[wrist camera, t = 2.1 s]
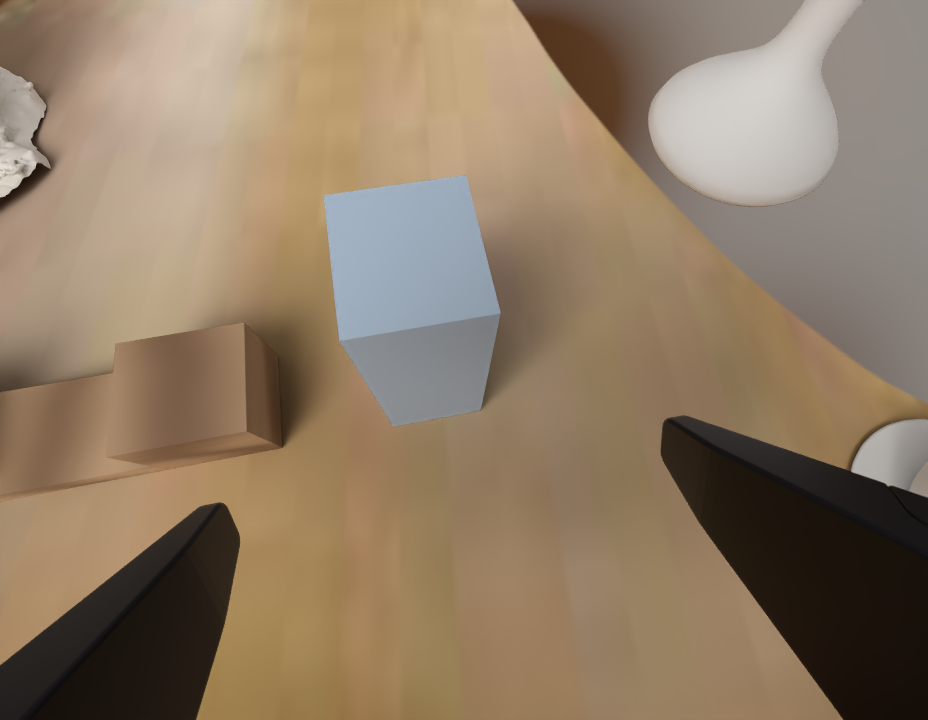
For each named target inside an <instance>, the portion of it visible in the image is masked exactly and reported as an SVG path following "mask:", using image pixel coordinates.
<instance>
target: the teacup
mask: <svg viewBox="0 0 928 720" xmlns="http://www.w3.org/2000/svg"><path fill="white" fill-rule="evenodd" d="M851 472H854V473H857V474H860V475H863V476H866V477H868V478H871V479H874V480H877V481H880V482H883V483H885V484H887V486H890V485H892V486H895V487H898V488H901V489H904V490H907V491H910V492H913V493H916V494H919V495H922V496H925V497H928V419H909V420H902V421H898V422H895V423H891V424H889V425H886V426H884V427H883V428H881V429H879V430H877V431H876V432H875V433H873V434H872V435H871V436H870V437H869V438H868V439H867V440H866V441H865V442H864V443H863V444H862V446H861V447H860V449H859V451H858V453H857V454H856V457H855V459H854V461H853V464H852V468H851Z"/></svg>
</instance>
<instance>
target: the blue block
mask: <svg viewBox="0 0 928 720" xmlns="http://www.w3.org/2000/svg"><path fill="white" fill-rule="evenodd" d="M324 202H325V211H326V221H327V230H328V240H329V249H330V259H331V268H332V277H333V287H334V296H335V306H336V315H337V325H338V334H339V341H340V343H341V345H342V346H343V348H344V349H345V351H346V352H347V354H348V356H349V357H350V359H351V360H352V362H353V364H354V365H355V367H356V368H357V370H358V371H359V373H360V375H361V376H362V378H363V379H364V381H365V383H366V384H367V386H368V387H369V389H370V390H371V392H372V394H373V395H374V397H375V398H376V400H377V402H378V403H379V405H380V406H381V408H382V409H383V411H384V413H385V414H386V416H387V417H388V419H389V421H390V422H391V424H392V425H393V427H396V426H401V425H406V424H412V423H417V422H422V421H428V420H433V419H438V418H443V417H449V416H454V415H459V414H465V413H470V412H475V411H480V410H481V406H482V402H483V397H484V392H485V387H486V382H487V377H488V373H489V368H490V363H491V358H492V353H493V349H494V344H495V339H496V334H497V329H498V324H499V320H500V315H501V312H500V308H499V304H498V300H497V296H496V292H495V288H494V284H493V280H492V276H491V272H490V268H489V265H488V261H487V257H486V253H485V249H484V245H483V241H482V237H481V233H480V229H479V225H478V221H477V217H476V213H475V209H474V205H473V201H472V197H471V193H470V189H469V185H468V181H467V177H466V175H463V176H456V177H449V178H442V179H435V180H428V181H421V182H414V183H407V184H400V185H393V186H386V187H379V188H372V189H365V190H358V191H351V192H344V193H337V194H330V195H324Z"/></svg>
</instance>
